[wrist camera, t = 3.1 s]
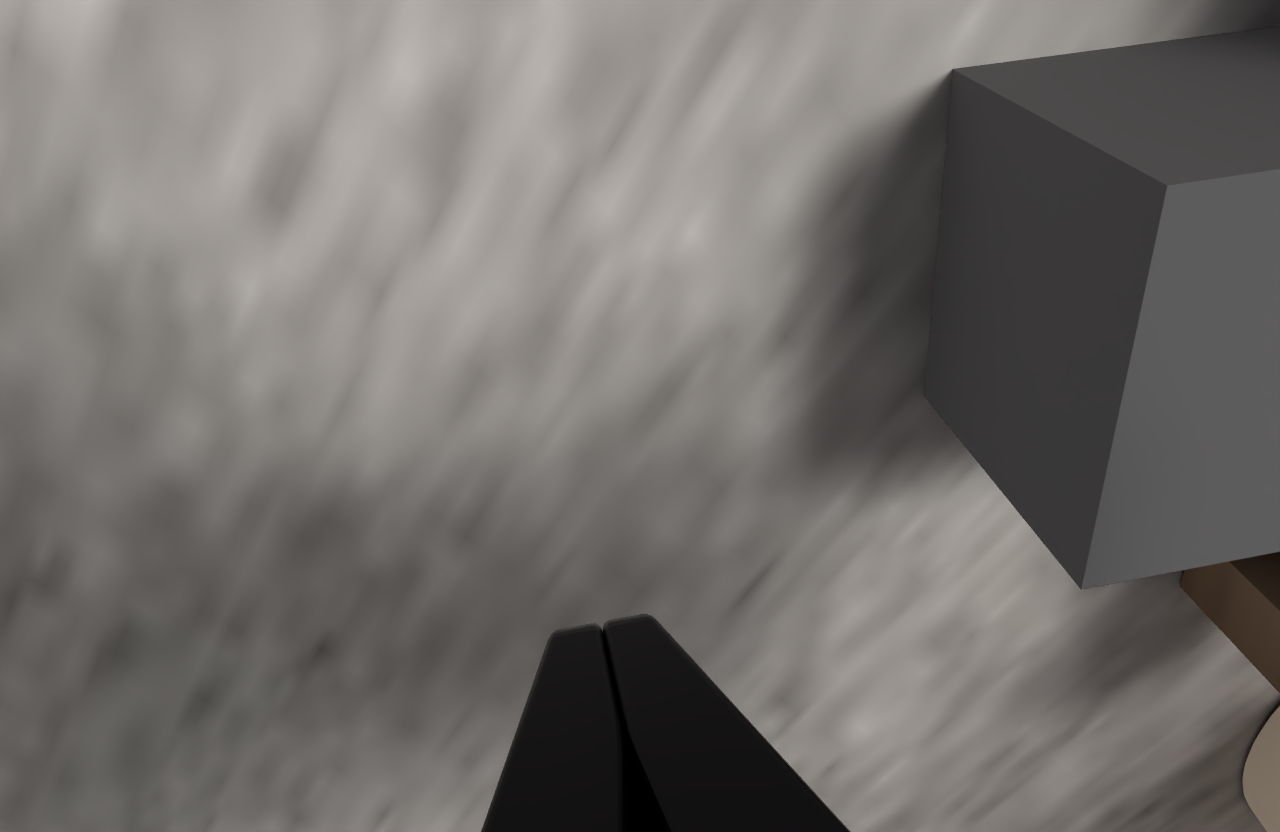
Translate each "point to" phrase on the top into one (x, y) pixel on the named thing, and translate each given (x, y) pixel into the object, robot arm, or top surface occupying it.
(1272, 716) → the water bottle
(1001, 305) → the dark grey stepped block
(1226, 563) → the frame
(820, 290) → the top surface
